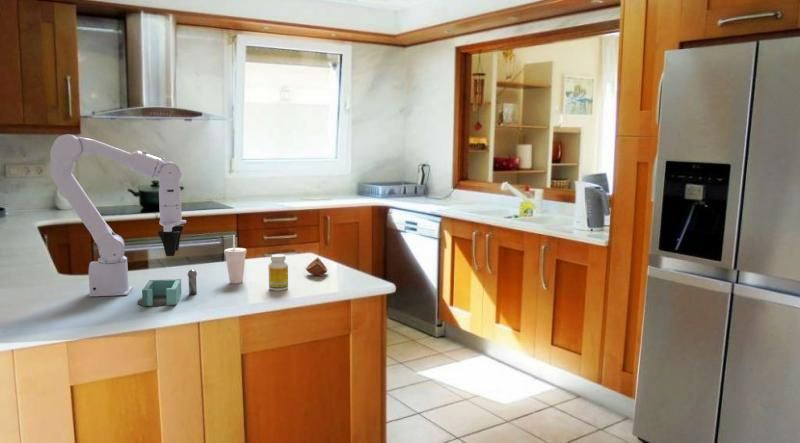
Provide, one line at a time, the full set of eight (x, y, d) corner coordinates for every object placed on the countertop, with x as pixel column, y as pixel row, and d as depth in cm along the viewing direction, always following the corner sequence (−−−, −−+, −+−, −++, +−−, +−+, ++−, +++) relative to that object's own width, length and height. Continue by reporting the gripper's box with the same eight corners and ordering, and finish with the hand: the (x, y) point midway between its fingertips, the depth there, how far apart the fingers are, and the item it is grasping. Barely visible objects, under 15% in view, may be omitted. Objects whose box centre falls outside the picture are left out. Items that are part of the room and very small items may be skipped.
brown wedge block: (327, 278, 192) (327, 262, 192) (305, 278, 192) (304, 262, 191) (327, 272, 200) (327, 256, 200) (306, 272, 200) (306, 257, 199)
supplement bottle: (266, 287, 180) (265, 254, 179) (284, 285, 183) (284, 252, 181) (272, 291, 175) (271, 258, 174) (290, 289, 178) (290, 256, 177)
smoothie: (238, 278, 191) (237, 232, 189) (251, 281, 187) (250, 235, 185) (220, 282, 186) (219, 235, 184) (233, 285, 182) (232, 237, 180)
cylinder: (187, 295, 171) (186, 271, 170) (188, 293, 173) (187, 269, 172) (197, 294, 171) (196, 270, 170) (197, 292, 174) (197, 268, 173)
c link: (142, 305, 159) (142, 290, 158) (150, 294, 169) (149, 280, 169) (176, 304, 160) (175, 289, 160) (181, 293, 171) (180, 279, 170)
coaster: (134, 307, 159) (134, 305, 159) (141, 297, 168) (141, 295, 168) (176, 305, 161) (176, 303, 161) (180, 295, 171) (180, 293, 171)
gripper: (182, 208, 169) (184, 257, 171) (188, 202, 183) (190, 248, 185) (154, 208, 168) (156, 258, 170) (162, 202, 182) (164, 248, 184)
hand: (172, 253), depth 177 cm, fingers open, 7 cm apart
